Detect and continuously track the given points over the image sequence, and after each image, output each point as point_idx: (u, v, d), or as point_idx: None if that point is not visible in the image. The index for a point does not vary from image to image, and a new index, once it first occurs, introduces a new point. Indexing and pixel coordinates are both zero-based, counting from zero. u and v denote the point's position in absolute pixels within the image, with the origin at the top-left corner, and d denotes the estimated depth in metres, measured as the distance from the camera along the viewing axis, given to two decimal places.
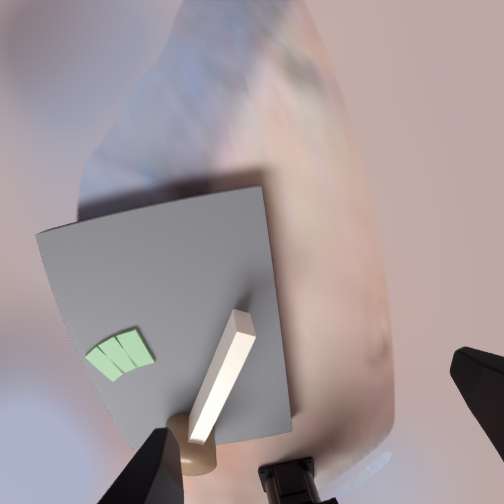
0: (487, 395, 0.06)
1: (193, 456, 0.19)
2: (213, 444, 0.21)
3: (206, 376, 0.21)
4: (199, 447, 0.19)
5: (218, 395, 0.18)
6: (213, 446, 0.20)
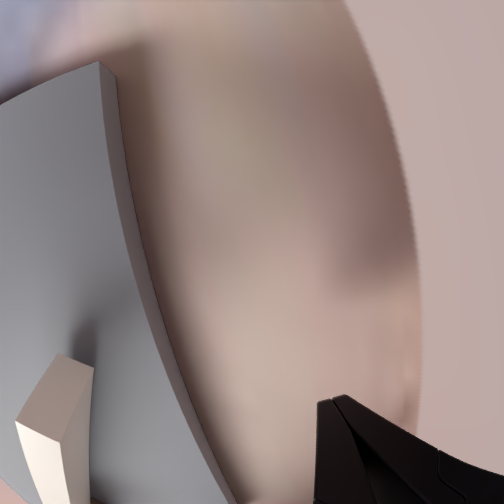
0: None
1: None
2: None
3: None
4: None
5: None
6: None
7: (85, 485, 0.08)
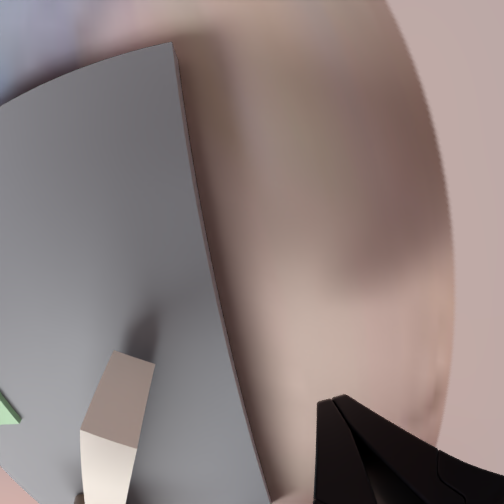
0: None
1: None
2: None
3: None
4: None
5: None
6: None
7: None
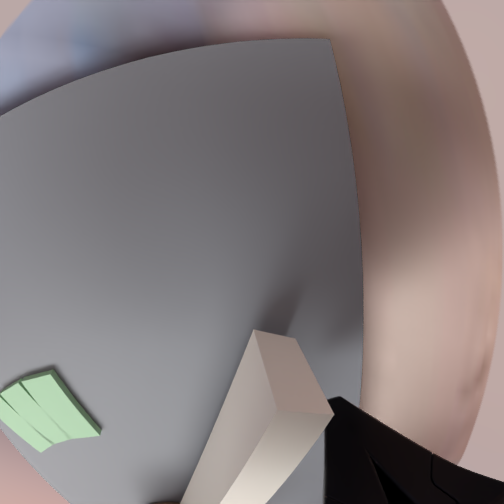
0: None
1: None
2: None
3: (200, 464, 0.09)
4: None
5: None
6: None
7: None
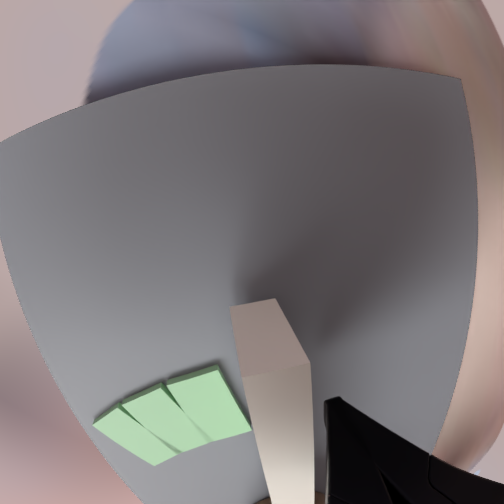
0: None
1: None
2: None
3: None
4: None
5: (293, 500, 0.06)
6: None
7: None
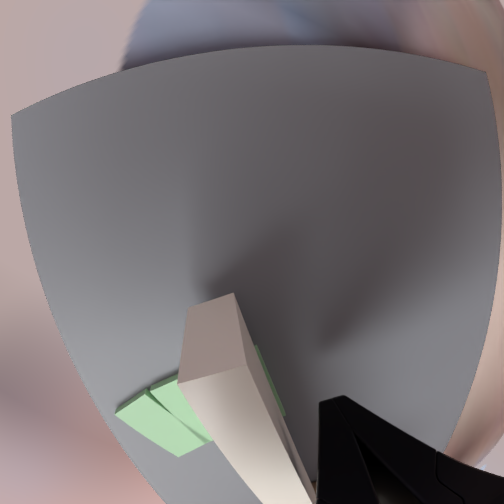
0: None
1: None
2: None
3: None
4: None
5: (284, 499, 0.06)
6: None
7: (300, 461, 0.09)
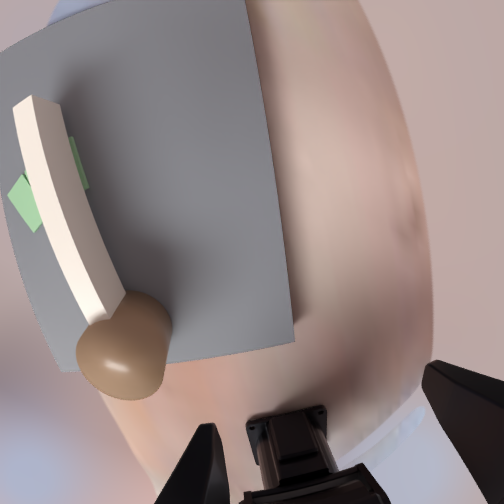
0: (458, 413, 0.06)
1: (107, 347, 0.12)
2: (140, 317, 0.13)
3: None
4: (101, 323, 0.12)
5: (47, 203, 0.11)
6: (138, 319, 0.13)
7: (89, 223, 0.13)
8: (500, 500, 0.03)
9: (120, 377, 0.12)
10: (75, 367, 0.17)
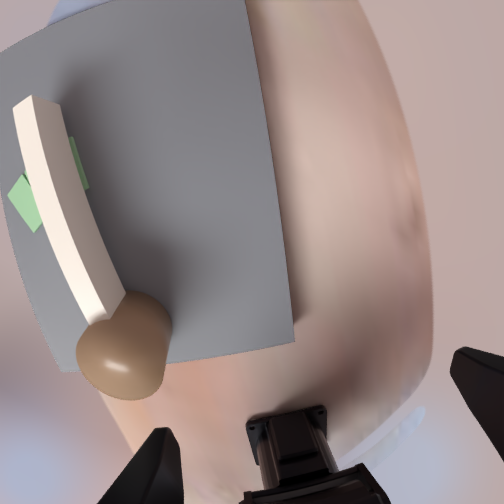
0: (487, 395, 0.06)
1: (107, 347, 0.12)
2: (140, 317, 0.13)
3: None
4: (101, 323, 0.12)
5: (47, 203, 0.11)
6: (138, 319, 0.13)
7: (89, 223, 0.13)
8: None
9: (120, 377, 0.12)
10: (75, 367, 0.17)
